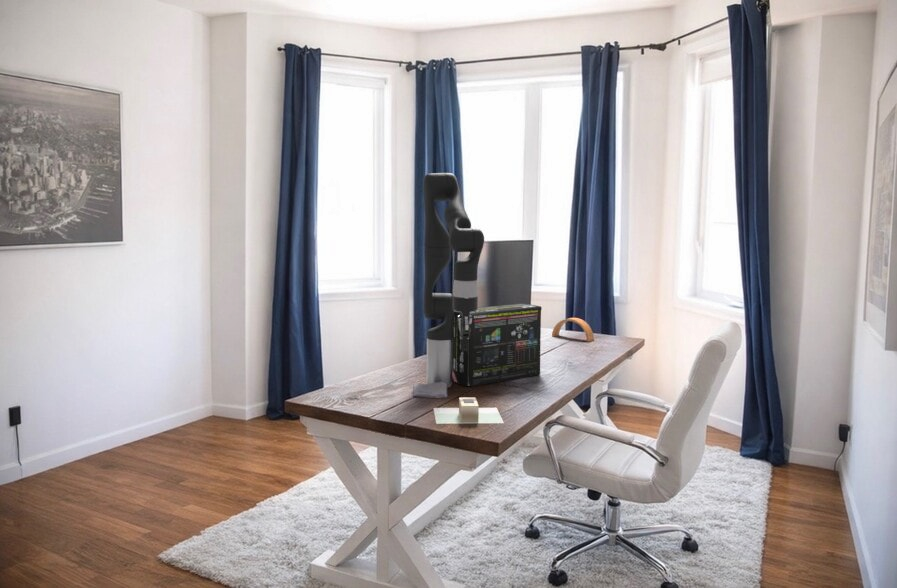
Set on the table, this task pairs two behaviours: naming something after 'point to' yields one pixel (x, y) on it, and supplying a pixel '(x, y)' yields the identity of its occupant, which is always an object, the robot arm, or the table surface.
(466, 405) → the birch block
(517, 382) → the table surface
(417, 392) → the stone block
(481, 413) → the board
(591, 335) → the arch
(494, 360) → the router box
